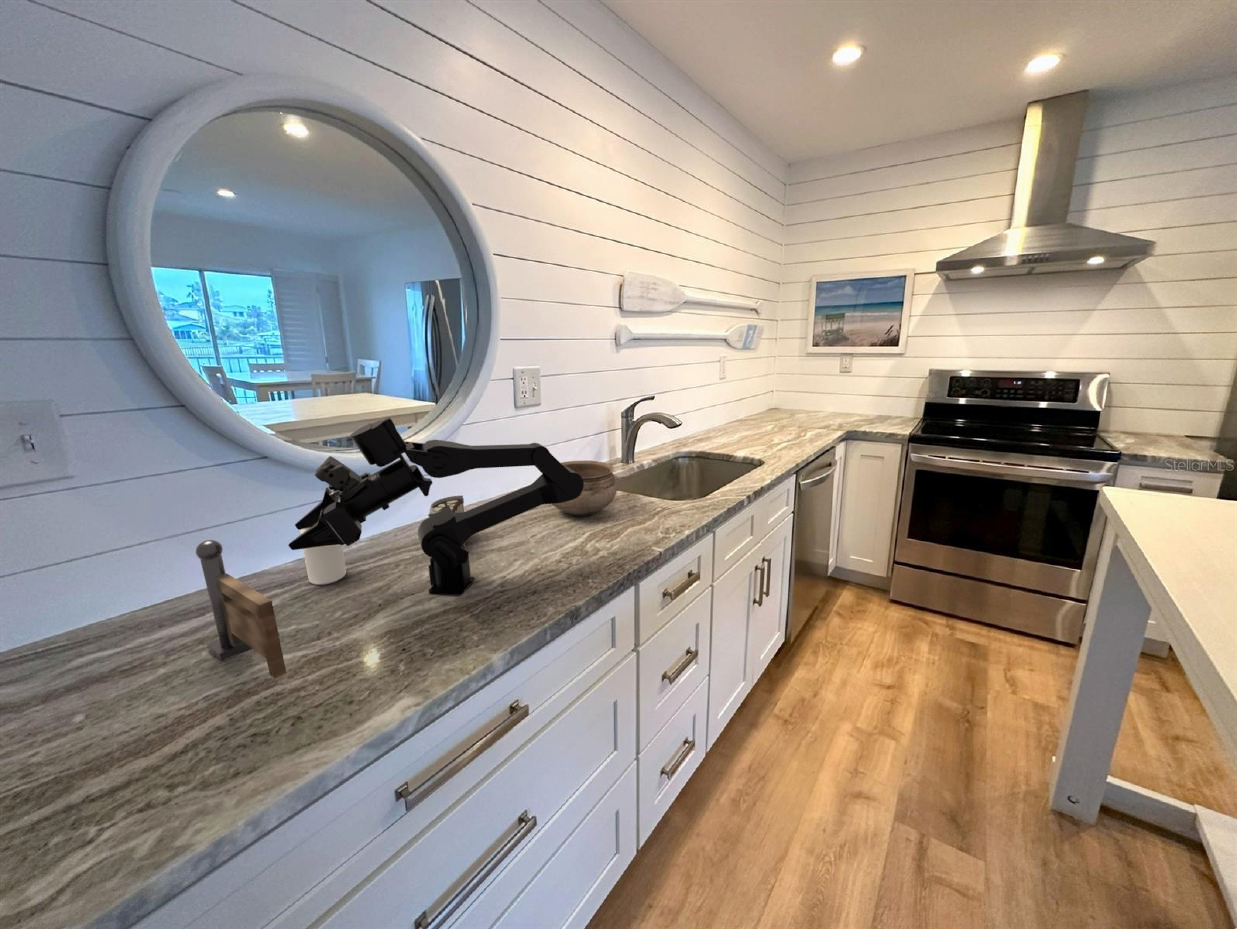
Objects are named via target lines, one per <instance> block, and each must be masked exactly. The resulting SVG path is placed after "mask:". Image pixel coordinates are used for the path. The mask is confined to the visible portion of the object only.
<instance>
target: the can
mask: <svg viewBox="0 0 1237 929" xmlns="http://www.w3.org/2000/svg"><path fill="white" fill-rule="evenodd" d="M308 529H309V528H305V529H300V534H299V535H301V534H302V533H304V532H305V531H306V530H308ZM302 551H303V556H304V561H305V569H306V572H307V577H308V581H309V583H310V584H312V585H314V586H315V585H316V586H325V585H331V584H333V583H336V582H338V581H340V580H342V579H343V578H344V577H345V575H346V574H347V569H346V561H345V555H344V554H345V553H344V549H343V545H340V544H339V545H328V546H319V547H312V548H305V549H302Z"/></svg>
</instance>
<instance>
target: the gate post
mask: <svg viewBox="0 0 1237 929" xmlns="http://www.w3.org/2000/svg"><path fill="white" fill-rule="evenodd" d="M223 550H224V549H223V546H222V544H221V542H219V541H217V540H213V539H209V540H208V539H207V540H204V541H202V542H201V543H199V544H198V545H197V546H196V549H195V555H196V557H197V558H198V559H199V560H200V564H201V568H202V573H203V576H204V580H205V585H206V589H207V592H208V597H209V601H210V605H211V611H212V614H213V618H214V623H215V627H216V630H217V635H218V639H217V640H214V641H212V642H209V643H207V648H208V652H209V653H211V654H212V655H213V656H214V657H216V658H217V660H219V662H222V661H224V660H226V659H228V658H232V657H233V656H236V655H238V654H239V653H242V652H244V651H247V650H249V649H252V648H251V647H250V646H249V645H247V644H246V643H244V644H242V645H240V646H237V647H233V646H232V645H231V644H230V640H229V636H228V631H227V627H226V623H225V619H224V614H223V610H222V606H221V601H220V597H219V593H218V588H217V584H216V580H215V577H217V576H220V575H223V574H226V568H225V565H224V560H223V556H222V554H223Z"/></svg>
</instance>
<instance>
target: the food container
mask: <svg viewBox="0 0 1237 929" xmlns="http://www.w3.org/2000/svg"><path fill="white" fill-rule="evenodd" d="M464 500H465V499H464V495H453V496H452V495H451V496H448V497H443V498H440V499H437V500H435V501H433V502H432V503H431V505H430V507H429V512H428V514H435V513H438V512H440V511H442V510H443V509H445V508H447V507H450V508H451V510H452V512H453V513H462V512H465V510H464V504H465V502H464Z"/></svg>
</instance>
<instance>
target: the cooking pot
mask: <svg viewBox="0 0 1237 929" xmlns="http://www.w3.org/2000/svg"><path fill="white" fill-rule="evenodd" d="M560 463H561V464H562V465H563V466H566V467H568V468H570V469H571V470H573V471H574V472H576V473H578V474H579V475H580V476H581V477H582V479H583V483H584V487H583V490H582V492H581V495H580V496H579V497H578V498H576V499H574V500H571V501H567V502H563V503H558V504H551V505H553V507H555V508H556V509H558V510H561V511H562V512H564V513H567V514H568V515H570V516H573V517H577V518H578V517H580V518H585V517H589V516H592V515H594V514H596V513H598V512H600V511H602V510H604V509H605V508H607V507H608V506H609V505H610V504H612V502H613V501H614V499H615V497H616V494H617V491H618V490H617V489H618V485H617V482H616V478H615V475H614V473H613V472H614V471H615V467H614V466H613V465H612V464H611V463H607V462H602V461H598V460H569V461H564V462H560Z"/></svg>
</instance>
